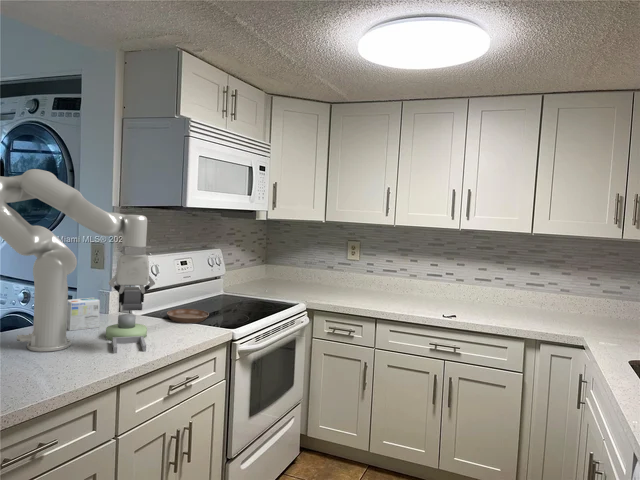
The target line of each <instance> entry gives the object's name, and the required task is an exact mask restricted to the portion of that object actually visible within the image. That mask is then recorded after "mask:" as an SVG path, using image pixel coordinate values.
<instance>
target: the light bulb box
mask: <svg viewBox="0 0 640 480" xmlns="http://www.w3.org/2000/svg"><path fill="white" fill-rule="evenodd" d="M100 300H101V299H98V298H96V297H88V298H87V297H85V298H73V299H71V298H70V299H68V306H67V331H70V332H71V330H72V331H79V330H87V329H95V328H99V327H100V306H101V305H100V304H101V301H100Z"/></svg>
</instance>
